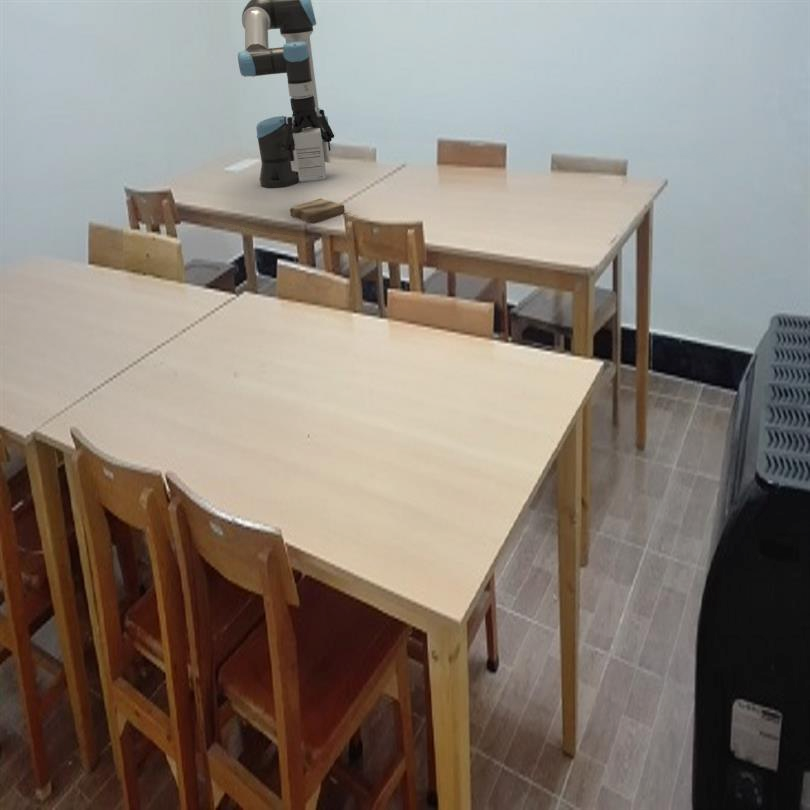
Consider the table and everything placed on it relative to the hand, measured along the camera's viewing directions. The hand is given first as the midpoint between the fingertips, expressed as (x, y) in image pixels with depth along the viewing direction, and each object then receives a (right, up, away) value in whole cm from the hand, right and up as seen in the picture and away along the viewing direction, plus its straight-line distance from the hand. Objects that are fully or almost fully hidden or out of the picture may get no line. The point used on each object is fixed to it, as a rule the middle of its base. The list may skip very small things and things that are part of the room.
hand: (311, 166), depth 264 cm
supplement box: (0, -3, +2) cm, 4 cm away
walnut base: (+1, -14, +8) cm, 16 cm away
